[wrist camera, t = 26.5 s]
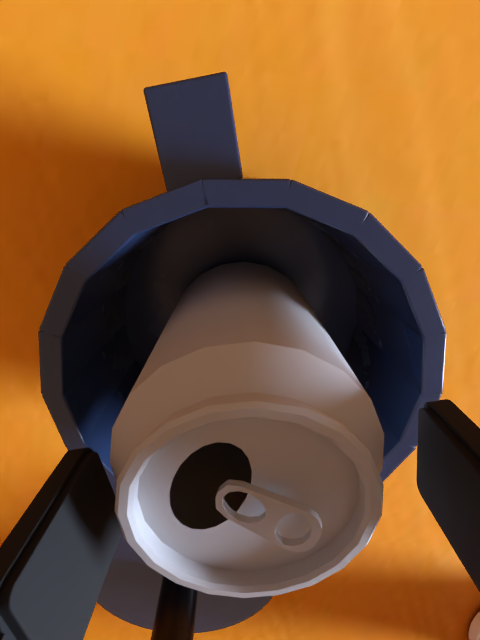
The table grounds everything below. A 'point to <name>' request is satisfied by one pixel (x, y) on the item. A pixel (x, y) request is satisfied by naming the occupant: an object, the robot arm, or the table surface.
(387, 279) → the pot
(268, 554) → the can
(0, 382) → the table surface
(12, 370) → the table surface
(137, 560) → the pot lid
